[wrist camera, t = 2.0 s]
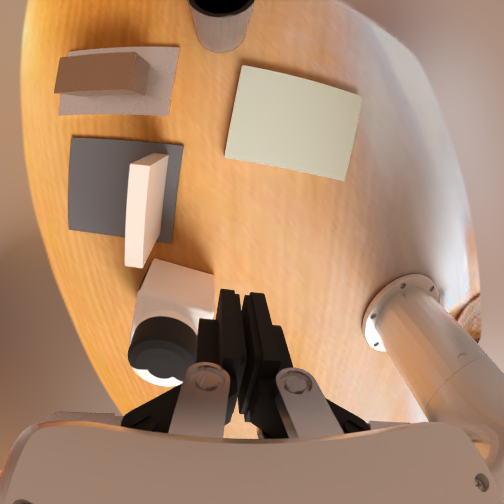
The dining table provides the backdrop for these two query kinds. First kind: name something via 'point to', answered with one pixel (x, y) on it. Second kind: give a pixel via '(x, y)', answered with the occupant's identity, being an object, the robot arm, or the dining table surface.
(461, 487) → the robot arm
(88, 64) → the float
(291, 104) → the board
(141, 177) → the tile
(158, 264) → the medicine bottle
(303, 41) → the dining table surface
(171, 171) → the mat
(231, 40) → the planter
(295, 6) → the dining table surface
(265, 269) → the dining table surface
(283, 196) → the dining table surface
